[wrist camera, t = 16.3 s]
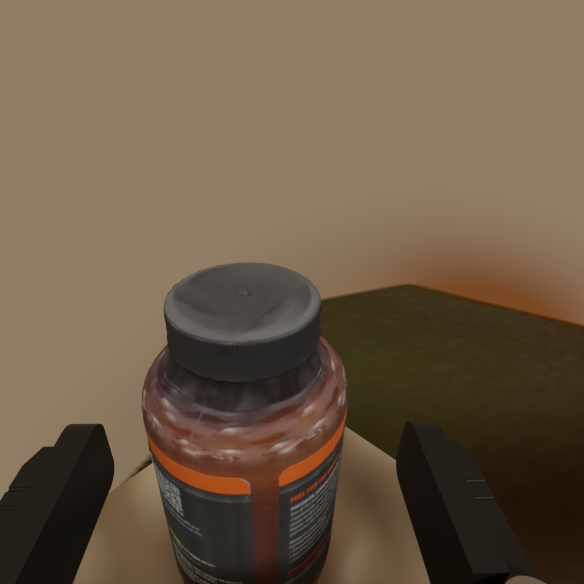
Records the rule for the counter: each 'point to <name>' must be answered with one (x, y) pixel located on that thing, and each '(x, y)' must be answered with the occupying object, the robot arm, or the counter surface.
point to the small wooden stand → (343, 545)
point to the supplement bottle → (246, 426)
